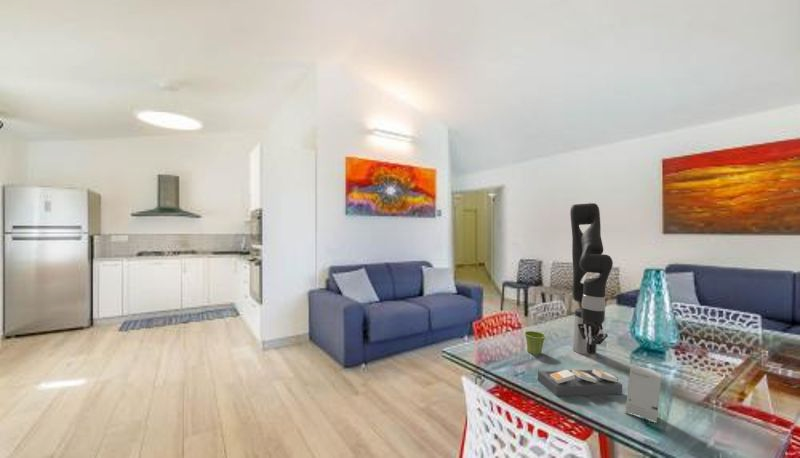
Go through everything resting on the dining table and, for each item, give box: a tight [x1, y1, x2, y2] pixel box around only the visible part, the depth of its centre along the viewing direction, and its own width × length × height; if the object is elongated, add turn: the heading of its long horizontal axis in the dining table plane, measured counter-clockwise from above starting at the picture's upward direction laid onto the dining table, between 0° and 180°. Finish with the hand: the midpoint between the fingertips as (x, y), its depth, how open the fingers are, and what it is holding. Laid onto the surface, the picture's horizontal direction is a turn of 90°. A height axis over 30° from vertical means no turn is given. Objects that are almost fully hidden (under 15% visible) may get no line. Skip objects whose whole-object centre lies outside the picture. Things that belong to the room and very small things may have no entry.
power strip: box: [537, 369, 623, 397], centre depth 124 cm, size 32×12×4 cm, turn 98°
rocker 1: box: [550, 369, 575, 384], centre depth 120 cm, size 7×4×2 cm, turn 98°
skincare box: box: [625, 364, 662, 423], centre depth 106 cm, size 8×6×15 cm
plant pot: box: [524, 330, 547, 355], centre depth 157 cm, size 9×9×9 cm
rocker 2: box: [571, 368, 597, 383], centre depth 121 cm, size 7×4×2 cm, turn 99°
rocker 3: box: [591, 368, 619, 382], centre depth 122 cm, size 7×4×2 cm, turn 99°
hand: (590, 353), depth 122 cm, fingers closed
